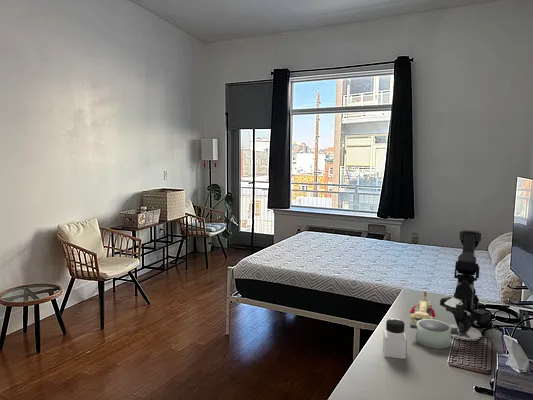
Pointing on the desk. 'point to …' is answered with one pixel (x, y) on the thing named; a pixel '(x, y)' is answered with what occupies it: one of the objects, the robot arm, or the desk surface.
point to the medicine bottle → (394, 339)
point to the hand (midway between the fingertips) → (462, 329)
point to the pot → (433, 333)
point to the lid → (470, 334)
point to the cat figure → (422, 311)
